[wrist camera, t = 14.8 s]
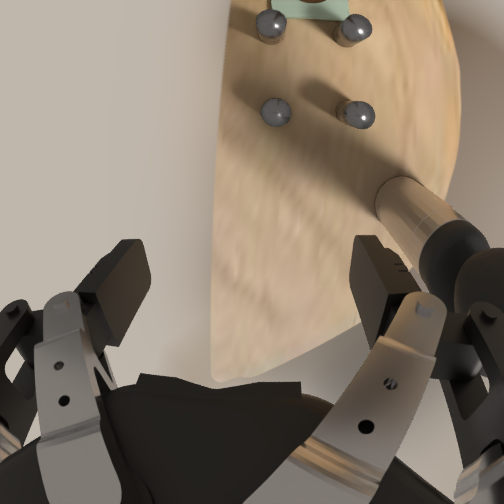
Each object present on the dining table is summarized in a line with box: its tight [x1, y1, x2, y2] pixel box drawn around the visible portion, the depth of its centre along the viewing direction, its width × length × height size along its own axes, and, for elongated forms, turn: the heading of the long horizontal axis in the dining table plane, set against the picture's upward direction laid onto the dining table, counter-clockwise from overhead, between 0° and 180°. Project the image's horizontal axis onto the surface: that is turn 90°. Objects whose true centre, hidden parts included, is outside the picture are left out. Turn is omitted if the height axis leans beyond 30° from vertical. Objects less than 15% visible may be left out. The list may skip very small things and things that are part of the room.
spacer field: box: [256, 9, 375, 129], centre depth 32 cm, size 14×16×7 cm
